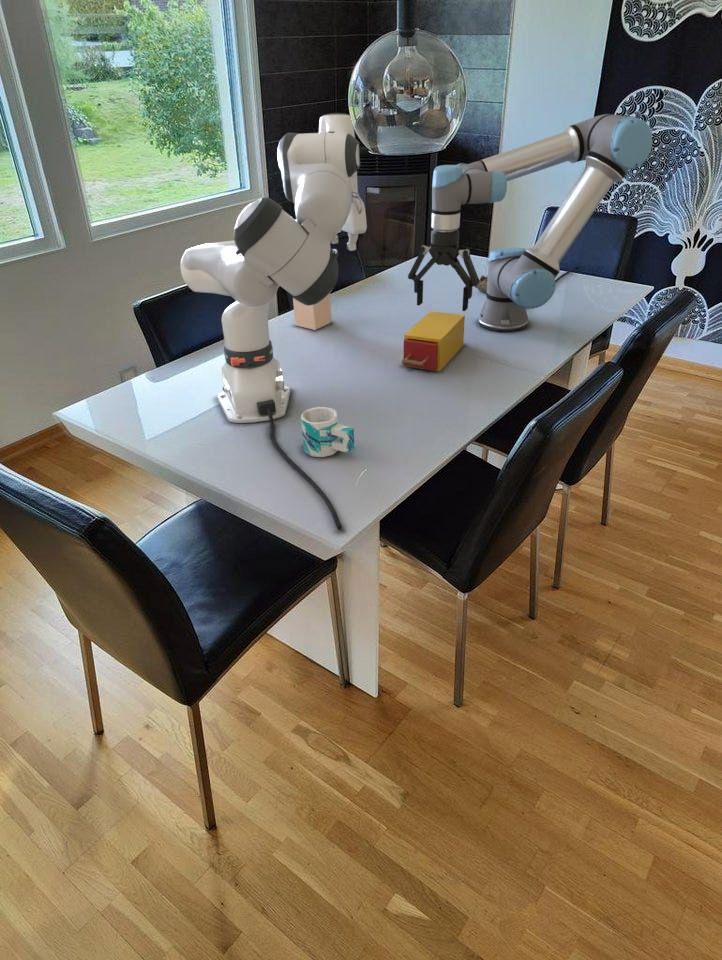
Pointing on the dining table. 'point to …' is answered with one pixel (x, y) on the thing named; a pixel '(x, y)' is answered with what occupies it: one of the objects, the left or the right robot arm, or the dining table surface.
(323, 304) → the soap dispenser
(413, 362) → the drawer
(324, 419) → the mug
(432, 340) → the cabinet
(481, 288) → the jawbone
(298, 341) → the dining table surface
